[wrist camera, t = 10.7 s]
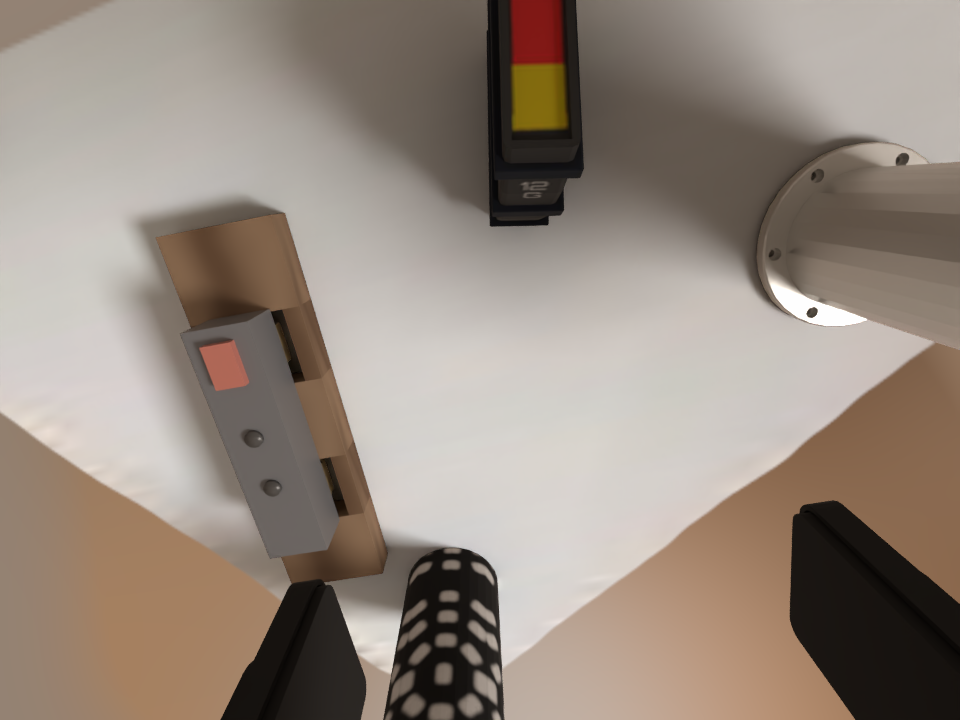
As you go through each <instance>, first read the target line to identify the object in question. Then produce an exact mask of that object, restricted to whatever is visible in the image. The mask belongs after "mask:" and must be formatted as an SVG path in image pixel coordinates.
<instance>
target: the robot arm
mask: <svg viewBox="0 0 960 720" xmlns="http://www.w3.org/2000/svg"><path fill="white" fill-rule="evenodd" d="M811 175H812V178H811ZM770 251H771V253H770V255H769V252H770ZM768 255H769V256H768ZM757 266H758V272H759V277H760V279H761V282H762V284H763V287H764V289H765V291H766V292H767V294H768V295H769V297H770V298H771V300H772V301H773V302H774V303H775V304H776V305H777V306H778V307H779V308H780V309H781V310H782V311H784V312H786V313H787V314H789V315H791V316H793V317H794V318H796V319H799V320H801V321H804V322H806V323H810V324H814V325H819V326H833V327H840V326H846V325H852V324H857V323H860V322H863V321H866V320H871V321H874V322H877V323H880V324H883V325H886V326H889V327H892V328H895V329H898V330H901V331H904V332H907V333H910V334H913V335H916V336H919V337H922V338H925V339H928V340H931V341H934V342H937V343H940V344H943V345H946V346H949V347H952V348H955V349H958V350H960V162H951V163H934V164H930V163H929V162H928V161H927V160H926V158H924V157H923V156H921V155H920V154H918V153H917V152H915V151H914V150H912V149H910V148H907V147H904V146H901V145H898V144H894V143H886V142H869V143H859V144H854V145H849V146H843V147H840V148H838V149H835V150H833V151H830V152H827V153H825V154H823V155H821V156H820V157H818V158H816V159H815V160H813V161H811V162H810V163H808V164H807V165H805V166H804V167H803V168H802V169H801V170H799V171H798V172H797V173H796V174H795V175H794V176H792V177H791V179H790V180H789V181H788V182H787V183H786V184H785V185H784V187H783V188H782V189H781V190H780V191H779V192H778V194H777V196H776V197H775V199H774V200H773V202H772V204H771V205H770V207H769V209H768V211H767V213H766V216H765V218H764V220H763V223H762V225H761V229H760V233H759V238H758V242H757ZM792 528H793V529H792V560H791V593H790V595H791V596H790V622H791V625H792V628H793V631H794V632H795V635H796V636H797V638H798V640H799V641H800V642H801V644H802V645H803V647H804V648H805V649H806V651H807V652H808V654H809V655H810V657H811V658H812V659H813V661H814V662H815V664H816V665H817V666H818V668H819V669H820V671H821V672H822V673H823V675H824V676H825V677H826V679H827V680H828V682H829V683H830V685H831V686H832V687H833V688H834V690H835V691H836V693H837V694H838V696H839V697H840V698H841V700H842V701H843V703H844V704H845V706H846V707H847V708H848V710H849V711H850V713H851V714H852V715H853V717H854V718H855V720H960V604H959V603H958V602H957V601H955V600H954V599H953V598H952V597H951V596H950V595H948V594H947V593H946V592H945V591H944V590H943V589H941V588H940V587H939V586H938V585H937V584H935V583H934V582H933V581H932V580H931V579H930V578H929V577H927V576H926V575H925V574H923V573H922V572H920V571H919V570H918V569H917V568H916V567H914V566H913V565H912V564H911V563H910V562H909V561H907V560H906V559H905V558H904V557H903V556H901V555H900V554H899V553H898V552H897V551H896V550H894V549H893V548H892V547H891V546H890V545H889V544H888V543H887V542H885V541H884V540H883V539H882V538H881V537H879V536H878V535H877V534H876V533H875V532H874V531H873V530H871V529H870V528H869V527H868V526H867V525H866V524H864V523H863V522H862V521H861V520H860V519H859V518H858V517H856V516H855V515H854V514H853V513H852V512H851V511H849V510H848V509H847V508H846V507H844V505H842V504H841V503H839V502H838V501H826V502H820V503H813V504H807V505H803V506H802V507H801V509H800V513H799V514H796V515H794V517H793V527H792ZM365 697H366V679H365V676H364V673H363V670H362V667H361V664H360V661H359V659H358V656H357V653H356V650H355V647H354V645H353V642H352V639H351V636H350V634H349V631H348V628H347V625H346V622H345V620H344V617H343V614H342V611H341V608H340V606H339V603H338V600H337V597H336V595H335V592H334V589H333V587H332V586H331V585H325V583H324V581H322V580H321V579H315V580H309V581H302V582H296V583H293V584H291V585H290V587H289V588H288V590H287V592H286V594H285V596H284V598H283V601H282V603H281V605H280V607H279V609H278V611H277V613H276V615H275V617H274V619H273V621H272V624H271V626H270V628H269V630H268V632H267V634H266V636H265V638H264V641H263V642H262V644H261V647H260V649H259V651H258V653H257V655H256V657H255V659H254V661H252V662H251V663H250V664H249V665H248V667H247V668H246V670H245V671H244V673H243V675H242V677H241V679H240V681H239V683H238V685H237V687H236V689H235V691H234V693H233V695H232V698H231V700H230V702H229V704H228V706H227V708H226V710H225V712H224V714H223V716H222V718H221V720H361V715H362V710H363V706H364V702H365Z"/></svg>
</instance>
